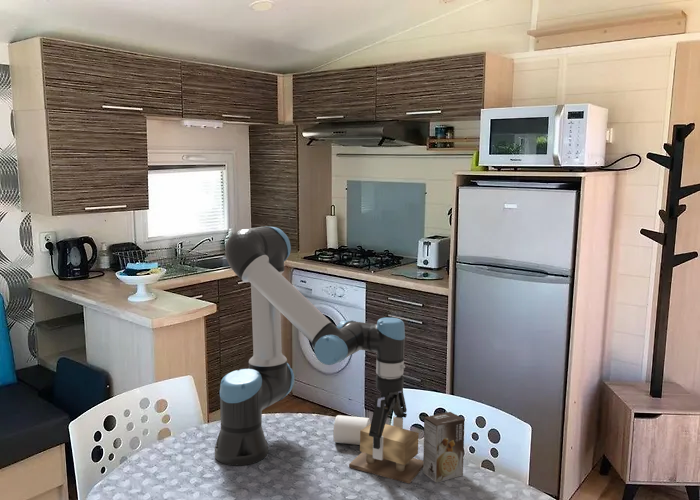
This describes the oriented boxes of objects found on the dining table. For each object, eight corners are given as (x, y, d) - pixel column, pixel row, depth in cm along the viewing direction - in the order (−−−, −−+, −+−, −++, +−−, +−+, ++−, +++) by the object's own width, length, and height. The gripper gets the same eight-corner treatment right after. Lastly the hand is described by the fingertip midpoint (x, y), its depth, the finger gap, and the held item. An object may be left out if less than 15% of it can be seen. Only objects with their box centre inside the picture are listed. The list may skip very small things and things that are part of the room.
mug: (365, 450, 172) (366, 424, 171) (332, 446, 174) (333, 421, 173) (372, 433, 184) (373, 409, 183) (341, 430, 186) (341, 406, 185)
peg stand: (349, 467, 162) (349, 453, 161) (368, 449, 172) (368, 437, 172) (409, 483, 154) (410, 469, 153) (425, 464, 164) (426, 450, 164)
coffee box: (449, 465, 164) (451, 410, 162) (463, 476, 158) (465, 419, 156) (421, 472, 160) (423, 416, 158) (435, 483, 154) (437, 425, 152)
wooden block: (359, 451, 163) (360, 430, 162) (374, 440, 170) (375, 420, 169) (404, 465, 155) (405, 443, 155) (417, 453, 162) (418, 432, 161)
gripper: (383, 391, 147) (381, 471, 150) (419, 364, 169) (417, 434, 172) (356, 386, 151) (355, 464, 153) (395, 360, 173) (393, 429, 175)
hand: (388, 448), depth 162 cm, fingers open, 13 cm apart
